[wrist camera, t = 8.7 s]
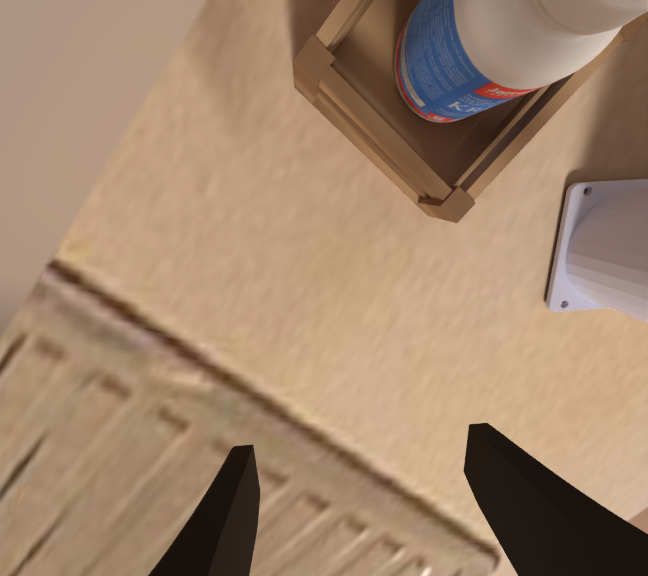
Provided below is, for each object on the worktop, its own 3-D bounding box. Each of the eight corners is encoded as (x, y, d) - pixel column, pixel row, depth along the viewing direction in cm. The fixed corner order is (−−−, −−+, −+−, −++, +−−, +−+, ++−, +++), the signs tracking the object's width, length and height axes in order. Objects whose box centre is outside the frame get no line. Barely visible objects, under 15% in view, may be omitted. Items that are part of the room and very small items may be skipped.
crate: (451, -130, 14) (500, -234, 10) (578, 49, 16) (651, 13, 13) (294, 87, 16) (292, 61, 13) (428, 215, 18) (456, 223, 15)
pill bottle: (416, 144, 17) (562, 96, 7) (373, 35, 15) (491, -202, 6) (513, 90, 16) (798, -36, 7) (479, -29, 14) (795, -404, 5)
